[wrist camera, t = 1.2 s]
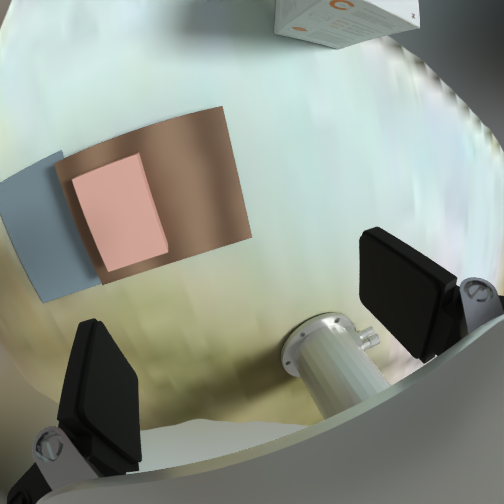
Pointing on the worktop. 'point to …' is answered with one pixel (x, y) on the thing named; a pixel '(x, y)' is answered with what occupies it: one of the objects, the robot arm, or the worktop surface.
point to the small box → (344, 20)
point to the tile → (121, 212)
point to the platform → (171, 187)
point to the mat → (45, 231)
